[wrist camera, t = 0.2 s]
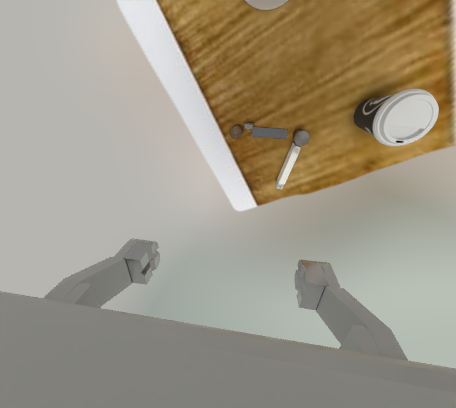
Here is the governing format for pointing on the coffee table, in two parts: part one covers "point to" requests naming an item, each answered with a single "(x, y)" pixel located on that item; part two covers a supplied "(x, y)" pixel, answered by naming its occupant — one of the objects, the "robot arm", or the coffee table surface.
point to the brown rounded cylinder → (239, 130)
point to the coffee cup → (398, 116)
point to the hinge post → (301, 137)
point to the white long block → (287, 165)
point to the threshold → (269, 132)
